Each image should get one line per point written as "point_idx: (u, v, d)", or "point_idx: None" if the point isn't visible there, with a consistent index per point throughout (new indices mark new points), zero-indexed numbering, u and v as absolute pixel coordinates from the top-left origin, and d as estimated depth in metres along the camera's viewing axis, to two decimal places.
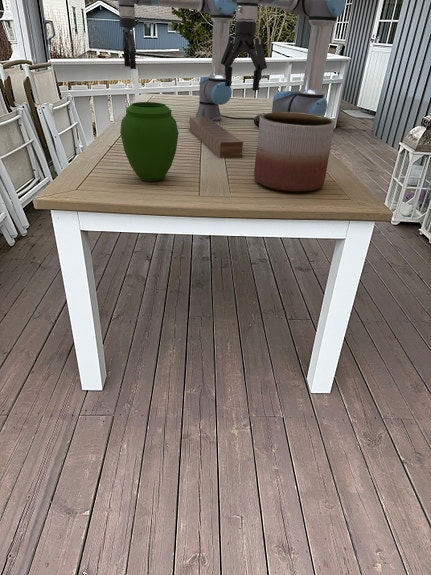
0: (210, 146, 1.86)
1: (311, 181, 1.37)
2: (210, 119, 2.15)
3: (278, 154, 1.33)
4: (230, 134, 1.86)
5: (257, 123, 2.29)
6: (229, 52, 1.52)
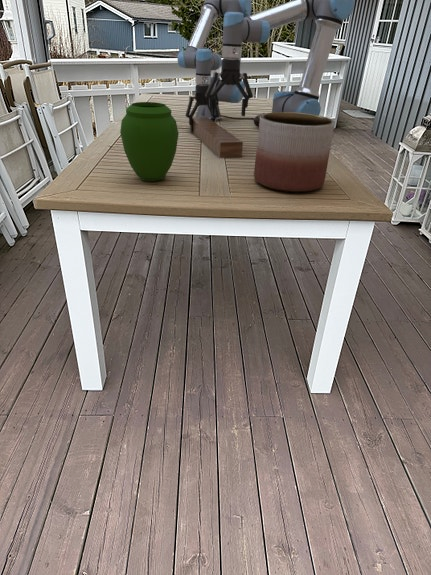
0: (210, 146, 1.86)
1: (311, 181, 1.37)
2: (210, 119, 2.15)
3: (278, 154, 1.33)
4: (230, 134, 1.86)
5: (257, 123, 2.29)
6: None
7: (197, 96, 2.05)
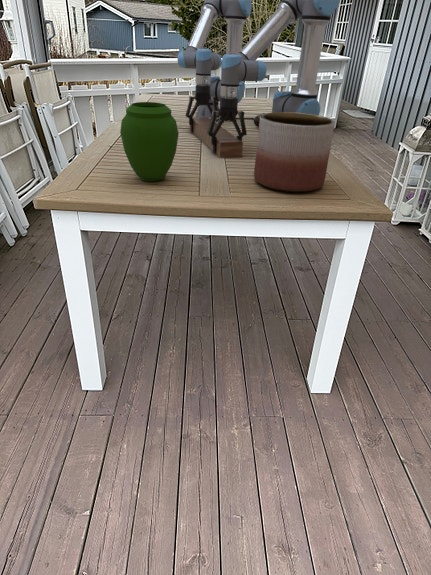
0: (210, 146, 1.86)
1: (311, 181, 1.37)
2: (210, 119, 2.15)
3: (278, 154, 1.33)
4: (230, 134, 1.86)
5: (257, 123, 2.29)
6: None
7: (197, 96, 2.05)
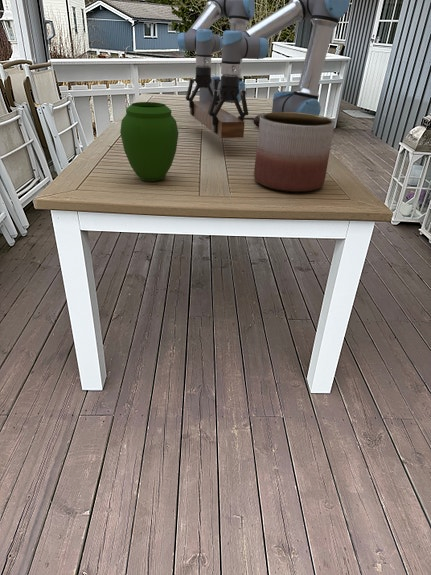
0: (211, 127, 1.82)
1: (311, 181, 1.37)
2: None
3: (278, 154, 1.33)
4: (231, 115, 1.81)
5: (257, 123, 2.29)
6: None
7: (197, 78, 2.01)
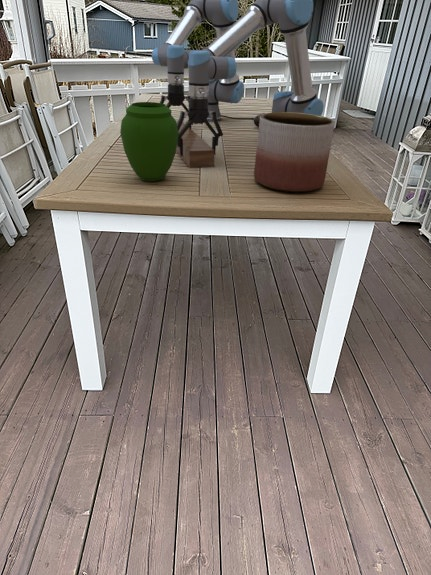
0: None
1: (311, 181, 1.37)
2: None
3: (278, 154, 1.33)
4: (203, 141, 1.71)
5: (257, 123, 2.29)
6: None
7: (170, 96, 1.90)
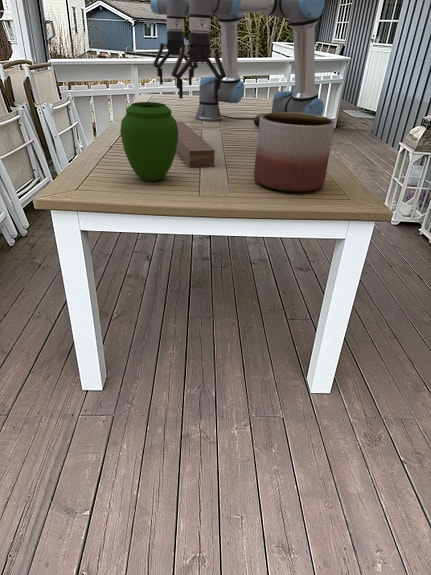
0: (181, 154, 1.72)
1: (311, 181, 1.37)
2: (185, 124, 2.00)
3: (278, 154, 1.33)
4: (203, 141, 1.71)
5: (257, 123, 2.29)
6: None
7: (169, 44, 1.79)
